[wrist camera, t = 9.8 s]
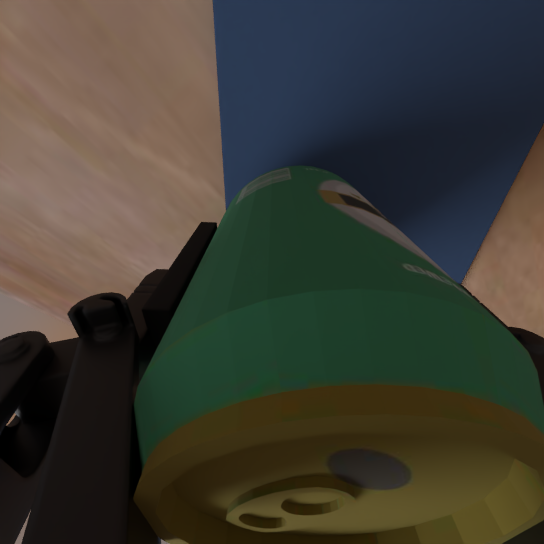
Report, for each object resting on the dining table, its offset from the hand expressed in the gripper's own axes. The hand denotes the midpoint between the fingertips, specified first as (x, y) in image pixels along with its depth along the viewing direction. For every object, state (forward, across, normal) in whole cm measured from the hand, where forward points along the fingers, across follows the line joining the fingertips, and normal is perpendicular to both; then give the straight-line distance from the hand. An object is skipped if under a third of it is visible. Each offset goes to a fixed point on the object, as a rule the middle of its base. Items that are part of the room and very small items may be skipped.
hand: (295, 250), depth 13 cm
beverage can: (+2, 0, 0) cm, 2 cm away
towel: (+3, +4, +4) cm, 7 cm away
